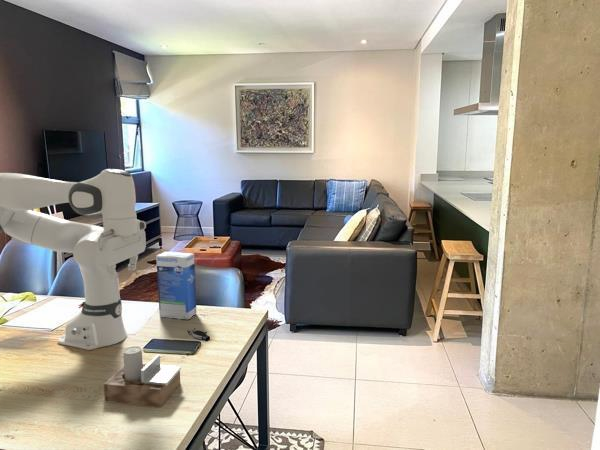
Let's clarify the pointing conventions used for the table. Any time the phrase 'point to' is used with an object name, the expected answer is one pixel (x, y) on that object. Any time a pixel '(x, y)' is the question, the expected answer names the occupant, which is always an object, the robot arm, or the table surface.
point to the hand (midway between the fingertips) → (123, 274)
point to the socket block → (138, 390)
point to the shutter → (158, 372)
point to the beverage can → (132, 363)
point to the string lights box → (176, 285)
